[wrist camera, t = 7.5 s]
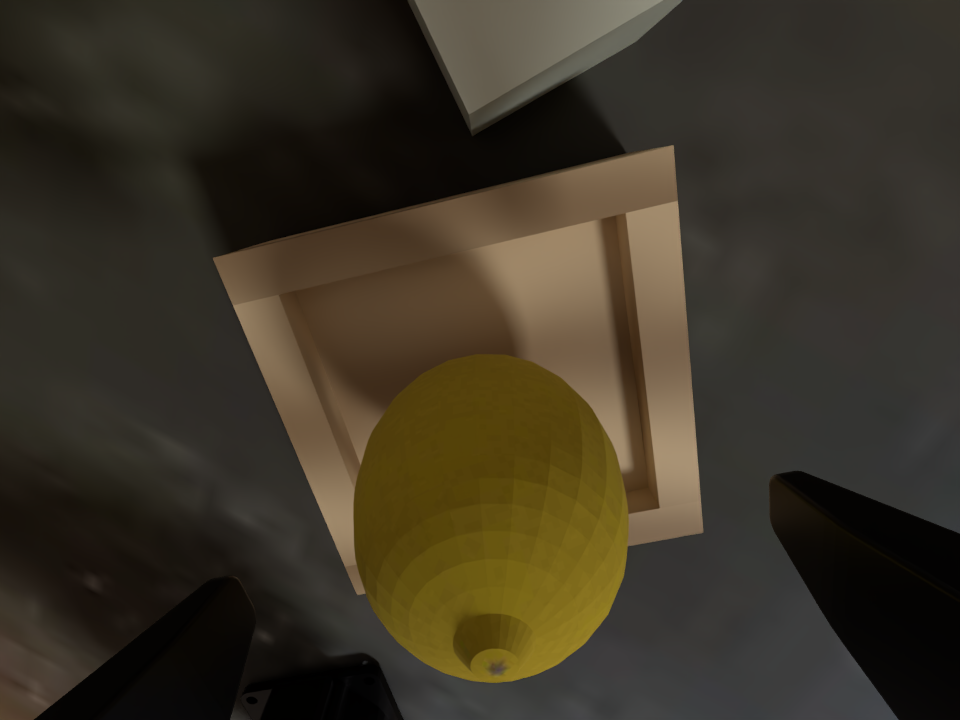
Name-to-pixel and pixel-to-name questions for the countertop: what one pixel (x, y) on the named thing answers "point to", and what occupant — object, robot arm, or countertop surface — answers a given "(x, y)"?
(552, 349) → the square tray
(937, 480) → the countertop surface
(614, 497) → the lemon
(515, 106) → the ceramic cube
